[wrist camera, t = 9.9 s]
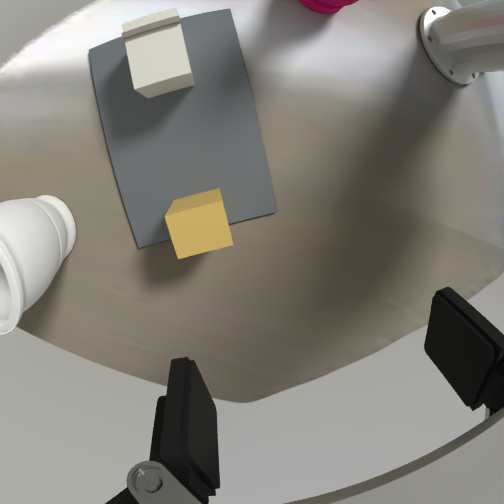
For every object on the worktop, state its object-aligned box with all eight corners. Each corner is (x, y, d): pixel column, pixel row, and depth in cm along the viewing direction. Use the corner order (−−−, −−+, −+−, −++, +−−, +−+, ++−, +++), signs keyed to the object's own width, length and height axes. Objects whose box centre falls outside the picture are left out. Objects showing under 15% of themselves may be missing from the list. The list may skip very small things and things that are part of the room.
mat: (229, 9, 24) (230, 8, 24) (276, 210, 33) (277, 211, 33) (89, 50, 23) (88, 49, 23) (139, 246, 33) (138, 248, 32)
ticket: (182, 29, 24) (176, 5, 18) (195, 85, 27) (191, 71, 21) (136, 42, 24) (120, 22, 18) (147, 98, 27) (132, 88, 21)
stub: (219, 187, 31) (222, 200, 25) (228, 223, 32) (233, 244, 26) (173, 200, 31) (164, 216, 24) (184, 234, 32) (178, 259, 26)
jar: (34, 170, 27) (-50, 197, 13) (98, 213, 30) (31, 266, 17) (10, 242, 29) (-60, 294, 16) (67, 283, 33) (12, 355, 19)
